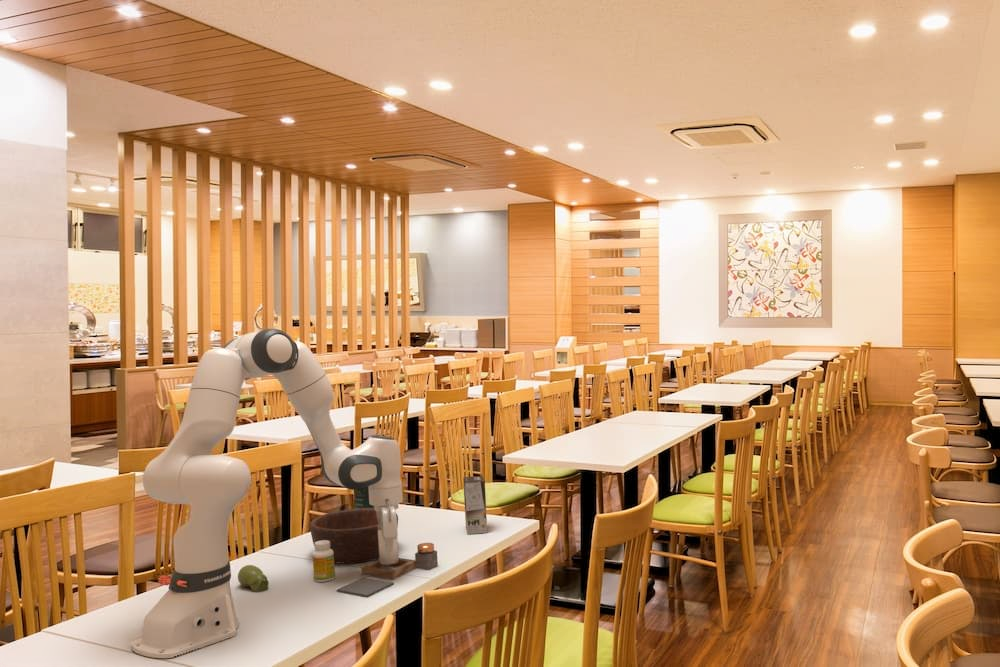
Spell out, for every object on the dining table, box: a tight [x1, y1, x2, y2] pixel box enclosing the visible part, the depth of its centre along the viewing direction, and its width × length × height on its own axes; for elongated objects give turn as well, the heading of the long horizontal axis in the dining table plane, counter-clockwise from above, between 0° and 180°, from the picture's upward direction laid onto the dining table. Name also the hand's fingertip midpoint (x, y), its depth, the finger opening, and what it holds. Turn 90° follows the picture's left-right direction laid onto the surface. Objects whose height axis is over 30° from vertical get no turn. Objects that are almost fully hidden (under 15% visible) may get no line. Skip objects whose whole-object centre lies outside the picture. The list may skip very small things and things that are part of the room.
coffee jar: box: [353, 486, 374, 509], centre depth 263 cm, size 10×8×19 cm
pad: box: [336, 577, 395, 598], centre depth 202 cm, size 10×10×1 cm
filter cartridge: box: [378, 523, 400, 565], centre depth 215 cm, size 5×5×10 cm
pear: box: [237, 564, 269, 593], centre depth 207 cm, size 6×5×10 cm
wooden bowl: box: [309, 508, 399, 564], centre depth 233 cm, size 25×25×10 cm
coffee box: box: [462, 475, 488, 535], centre depth 252 cm, size 9×6×16 cm
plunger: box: [416, 542, 435, 554], centre depth 217 cm, size 4×4×5 cm
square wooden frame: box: [360, 550, 439, 581], centre depth 215 cm, size 14×14×4 cm
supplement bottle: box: [312, 540, 336, 583], centre depth 211 cm, size 5×5×10 cm
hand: (388, 548), depth 215 cm, fingers closed on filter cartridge, 5 cm apart
